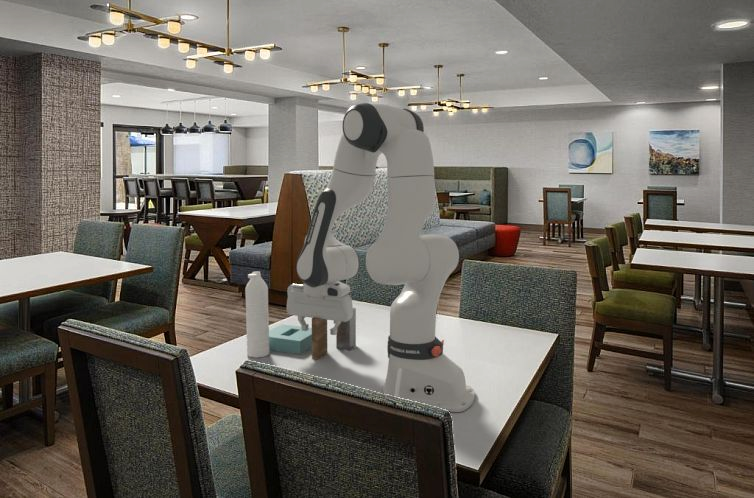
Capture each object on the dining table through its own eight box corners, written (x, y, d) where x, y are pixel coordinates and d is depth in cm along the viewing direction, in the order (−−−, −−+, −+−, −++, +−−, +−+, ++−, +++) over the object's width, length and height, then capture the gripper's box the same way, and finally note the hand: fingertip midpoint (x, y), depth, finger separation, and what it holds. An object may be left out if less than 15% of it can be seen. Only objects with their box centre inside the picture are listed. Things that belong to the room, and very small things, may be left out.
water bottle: (250, 350, 163) (247, 269, 159) (271, 350, 162) (269, 269, 159) (242, 360, 154) (239, 275, 150) (265, 361, 154) (262, 275, 150)
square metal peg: (355, 345, 168) (355, 308, 166) (349, 350, 164) (349, 311, 162) (342, 343, 169) (342, 306, 167) (336, 348, 165) (336, 310, 163)
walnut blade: (327, 352, 161) (327, 314, 159) (318, 359, 155) (317, 319, 154) (321, 352, 162) (321, 313, 160) (312, 358, 156) (311, 318, 154)
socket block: (320, 341, 172) (320, 329, 171) (300, 354, 160) (300, 341, 159) (282, 335, 177) (281, 324, 176) (259, 348, 165) (259, 335, 164)
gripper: (282, 285, 156) (282, 331, 158) (346, 292, 149) (346, 339, 151) (293, 281, 162) (293, 325, 164) (355, 287, 155) (355, 333, 157)
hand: (319, 332), depth 158 cm, fingers open, 8 cm apart
